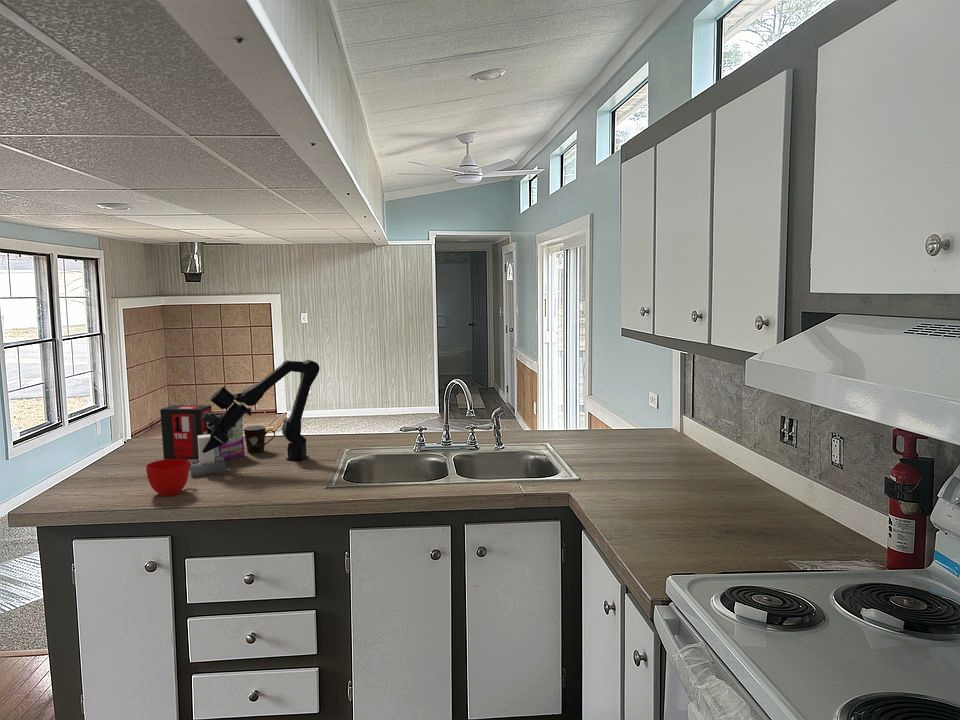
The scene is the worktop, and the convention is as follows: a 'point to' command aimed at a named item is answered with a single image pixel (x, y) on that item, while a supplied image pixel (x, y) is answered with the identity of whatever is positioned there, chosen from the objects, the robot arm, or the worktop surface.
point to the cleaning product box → (182, 430)
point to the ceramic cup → (168, 475)
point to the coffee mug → (256, 438)
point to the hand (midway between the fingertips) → (201, 449)
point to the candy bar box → (232, 443)
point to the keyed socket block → (207, 466)
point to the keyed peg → (202, 442)
